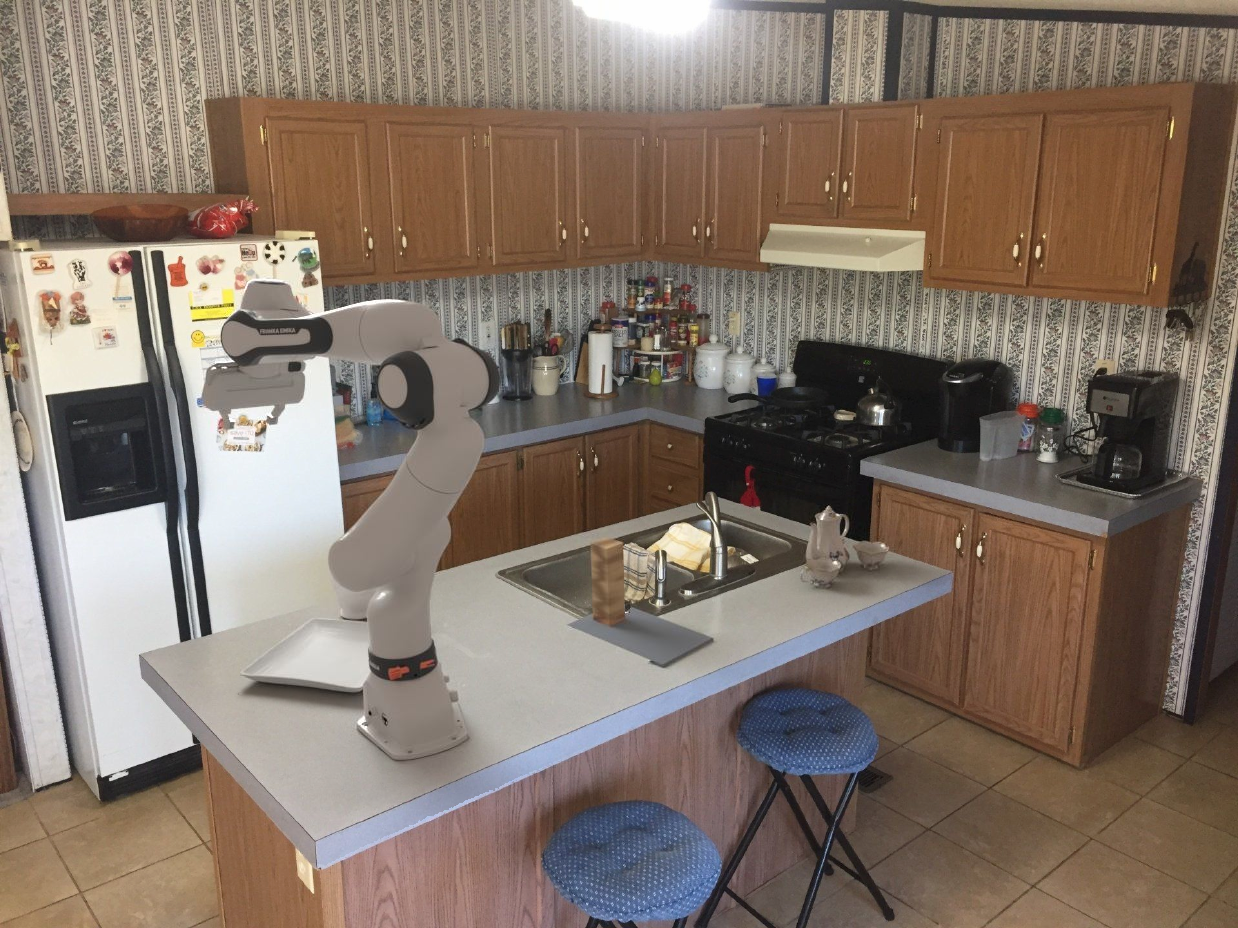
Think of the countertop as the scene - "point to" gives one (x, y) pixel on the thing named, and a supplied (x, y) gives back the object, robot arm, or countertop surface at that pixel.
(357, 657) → the square plate
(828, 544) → the chinaware
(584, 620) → the mat
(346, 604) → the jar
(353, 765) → the countertop surface
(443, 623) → the countertop surface
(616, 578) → the oak block
